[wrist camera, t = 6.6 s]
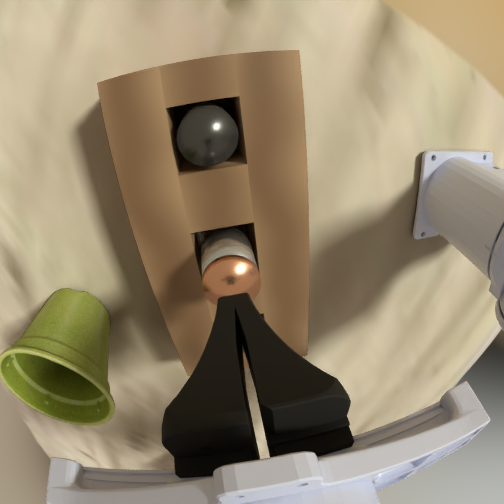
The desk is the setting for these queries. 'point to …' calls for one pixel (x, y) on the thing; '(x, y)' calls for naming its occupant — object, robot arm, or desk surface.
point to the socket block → (216, 187)
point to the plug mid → (228, 265)
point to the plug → (207, 135)
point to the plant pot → (63, 360)
